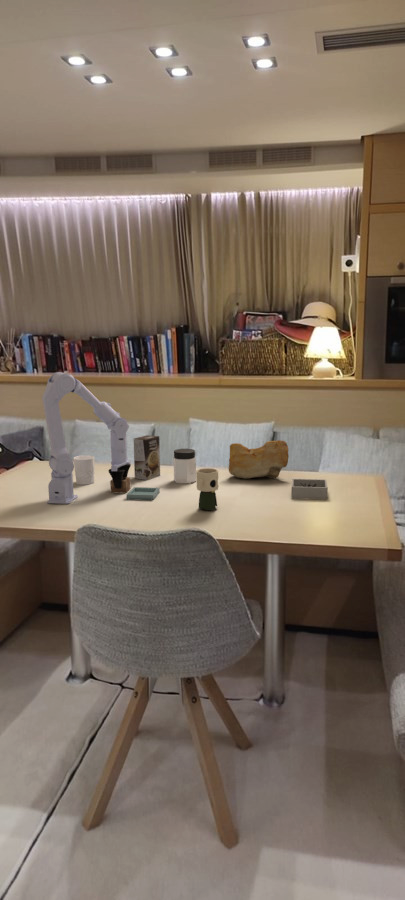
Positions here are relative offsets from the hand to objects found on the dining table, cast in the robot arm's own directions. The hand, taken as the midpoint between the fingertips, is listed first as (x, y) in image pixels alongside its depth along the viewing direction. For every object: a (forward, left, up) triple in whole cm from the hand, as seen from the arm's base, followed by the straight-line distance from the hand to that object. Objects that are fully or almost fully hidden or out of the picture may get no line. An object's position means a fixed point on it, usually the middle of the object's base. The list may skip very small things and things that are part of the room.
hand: (120, 485), depth 227 cm
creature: (+3, -68, -2) cm, 68 cm away
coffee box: (+21, -5, -2) cm, 22 cm away
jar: (+16, -21, -2) cm, 26 cm away
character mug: (-19, -35, -2) cm, 40 cm away
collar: (0, 0, -2) cm, 2 cm away
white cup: (+10, +17, -2) cm, 20 cm away
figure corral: (+2, -68, -2) cm, 68 cm away
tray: (-6, -10, -2) cm, 12 cm away
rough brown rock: (+27, -49, -2) cm, 56 cm away
